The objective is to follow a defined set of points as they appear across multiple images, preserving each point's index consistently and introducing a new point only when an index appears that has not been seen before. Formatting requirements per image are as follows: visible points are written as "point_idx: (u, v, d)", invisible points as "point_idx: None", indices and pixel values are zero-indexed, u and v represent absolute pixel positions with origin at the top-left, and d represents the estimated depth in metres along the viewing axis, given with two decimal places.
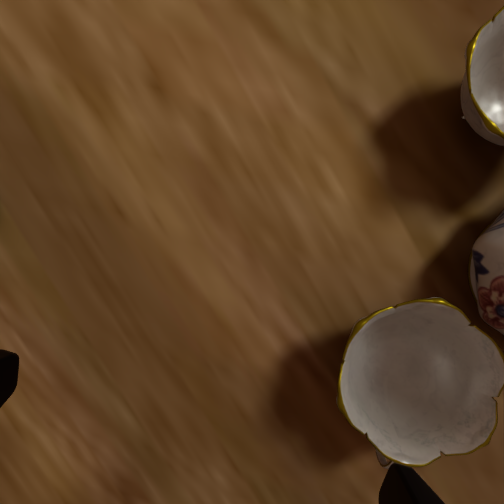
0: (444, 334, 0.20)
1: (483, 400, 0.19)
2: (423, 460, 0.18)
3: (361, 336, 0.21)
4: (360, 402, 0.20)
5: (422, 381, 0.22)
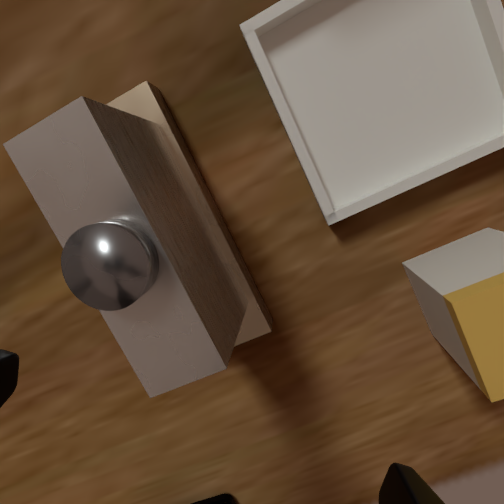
0: None
1: None
2: None
3: None
4: None
5: None
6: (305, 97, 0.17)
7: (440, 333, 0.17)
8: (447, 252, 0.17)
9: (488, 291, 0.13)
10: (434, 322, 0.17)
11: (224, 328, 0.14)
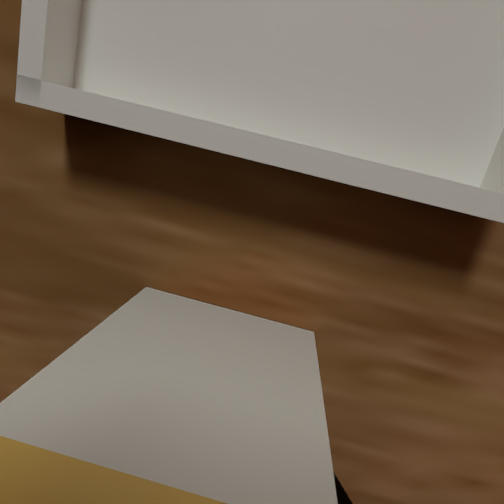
0: None
1: None
2: None
3: None
4: None
5: None
6: None
7: None
8: (208, 324, 0.08)
9: None
10: None
11: None
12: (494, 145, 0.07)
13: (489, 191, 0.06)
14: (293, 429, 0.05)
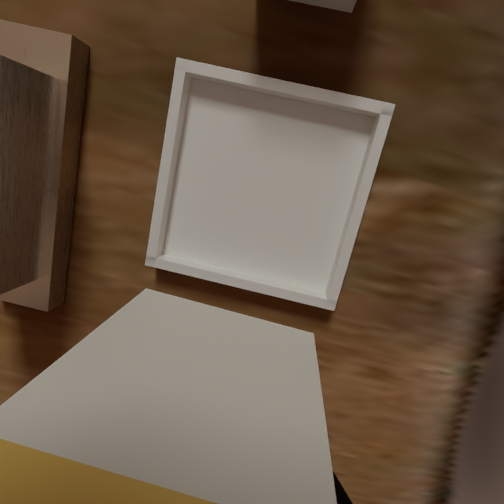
0: None
1: None
2: None
3: None
4: None
5: None
6: (198, 153, 0.18)
7: None
8: (208, 326, 0.08)
9: None
10: None
11: None
12: (328, 277, 0.18)
13: (321, 298, 0.18)
14: (292, 431, 0.05)
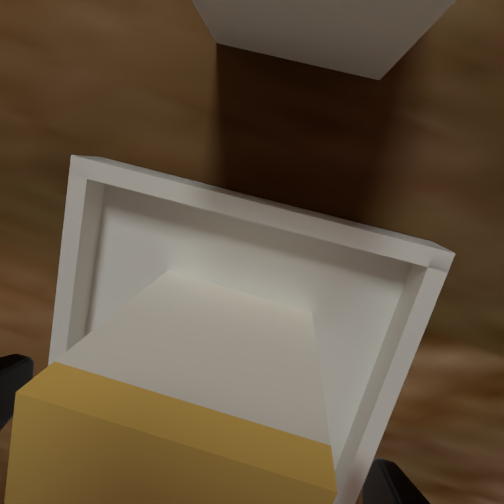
0: None
1: None
2: None
3: None
4: None
5: None
6: (121, 295, 0.11)
7: None
8: (222, 302, 0.09)
9: (107, 425, 0.05)
10: None
11: None
12: None
13: None
14: (294, 378, 0.07)
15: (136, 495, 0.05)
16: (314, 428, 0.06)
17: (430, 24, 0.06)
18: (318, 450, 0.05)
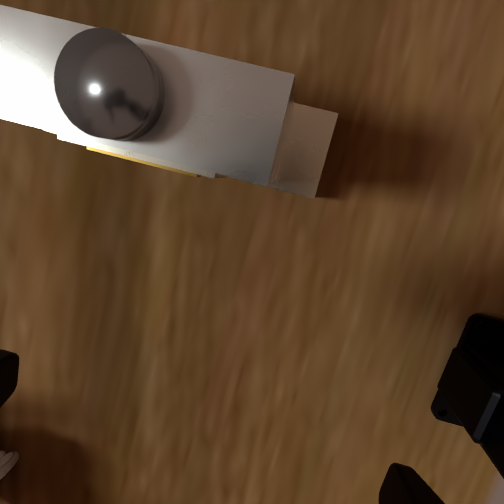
0: None
1: None
2: None
3: None
4: None
5: None
6: None
7: None
8: None
9: None
10: None
11: None
12: None
13: None
14: None
15: None
16: None
17: None
18: None
